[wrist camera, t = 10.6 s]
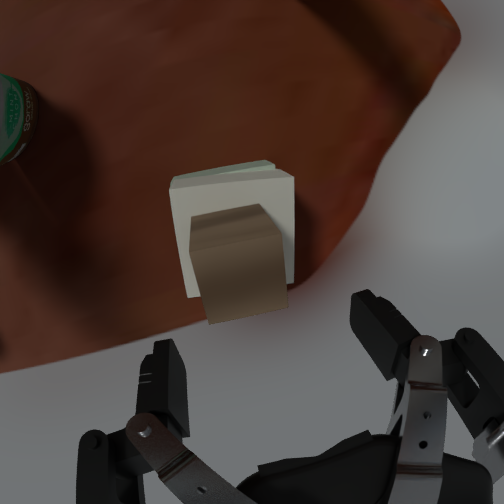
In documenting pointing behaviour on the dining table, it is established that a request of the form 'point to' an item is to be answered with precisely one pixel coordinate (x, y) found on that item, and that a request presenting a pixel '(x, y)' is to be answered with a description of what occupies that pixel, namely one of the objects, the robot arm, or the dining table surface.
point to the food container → (16, 116)
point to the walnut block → (238, 263)
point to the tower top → (232, 196)
